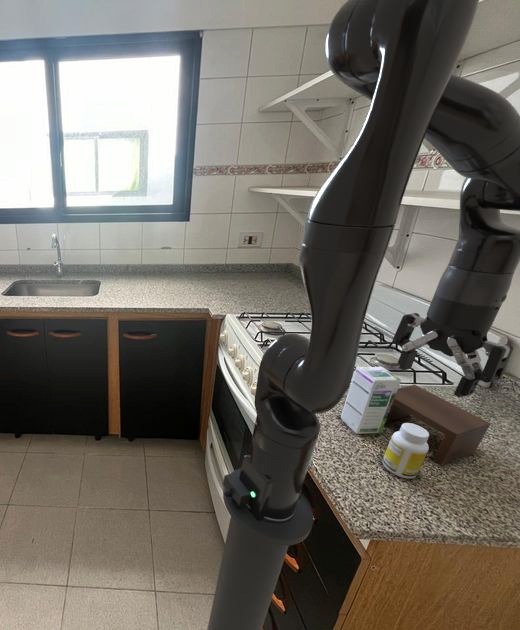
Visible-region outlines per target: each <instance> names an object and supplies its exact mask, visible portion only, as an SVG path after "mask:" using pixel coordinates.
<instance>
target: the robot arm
mask: <svg viewBox="0 0 520 630" xmlns="http://www.w3.org/2000/svg"><path fill="white" fill-rule="evenodd" d="M479 3H480V0H346V1H345V2H344V3H343V4H342V5H341V7H340V8H339V9H338V11H337V12H336V13H335V15H334V16H333V18H332V20H331V22H330V25H329V27H328V31H327V34H326V39H325V57H326V58H325V59H326V62H327V65H328V68H329V70H330V71H331V73H332V74H333V76H334V77H335V78H336V79H338V80H339V81H340V82H341V83H343V85H345V86H347V87H348V88H350V89H352V90H353V91H354V92H356V93H359V94H360V95H361V96H364V97H365V98H366V99H368V100H370V101H371V102H370V106H369V109H368V110H367V115H366V117H365V119H364V121H363V125H362V127H361V129H360V131H359V133H358V135H357V136H356V138H355V140H354V141H353V143H352V145H351V146H350V147H349V149H348V150H347V151H346V153H345V154H344V156H343V157H342V158H341V160H340V161H339V162H338V164H336V166H335V167H334V168H333V170H332V171H331V173H330V174H329V175H328V177H327V178H326V179H325V180H324V182H323V183H322V185H321V186H320V188H319V189H318V190H317V192H316V194H315V195H314V197H313V198H312V200H311V203H310V205H309V208H308V211H307V215H306V220H305V223H304V228H303V231H302V237H301V241H300V246H299V255H298V258H299V269H300V274H301V278H302V282H303V286H304V290H305V293H306V297H307V301H308V306H309V310H310V318H311V321H310V322H311V326H310V327H311V328H310V336H309V338H308V337H306V336H304V335H302V334H299V333H285V334H282V335H279V336H278V337H276V338H275V339H274V340H272V342H270V344H269V345H268V346H267V347H266V349H265V351H264V352H263V355H262V357H261V360H260V362H259V368H258V373H257V379H256V387H255V394H254V408H255V412H256V418H255V421H254V422H255V423H254V427H253V431H252V434H251V435H252V436H251V440H250V445H249V449H248V454H247V455H244V456H243V457H242V462H241V466H240V468H241V471H240V476H238V474H237V473H236V472H235V473H232V472H231V473H228V474H225V475H224V476H223V482H222V485H223V488H224V487H225V488H226V489H227V490H226V491H225V493H224V494H225V496H226V497H233V499H234V500H235V501H236V503H237V504H238V505H239V506H241V505H244V504H245V506H246V507H247V508H248V509H249V511H250V512H251V513H252V515H253V516H254V517H255V518H256V520H257V521H261V520H265V521H268V522H272V523H284V522H287V521H289V520H291V519H292V518H293V516H294V514H295V511H296V505H297V502H298V499H299V500H301V494H300V492H302V489H303V486H304V483H305V479H306V476H307V473H308V470H309V466H310V463H311V460H312V458H313V454H314V451H315V447H316V445H317V441H318V439H319V435H320V433H321V423H320V419H319V418H318V416H317V415H320V414H325V413H328V412H329V411H332V410H333V409H334V408H335V407H337V406H338V405H339V403H340V402H341V401H342V400H343V399H344V397H345V395H346V394H347V393H348V391H349V389H350V386H351V382H352V379H353V376H354V373H355V369H356V363H357V358H358V353H359V349H360V343H361V338H362V332H363V327H364V323H365V318H366V315H367V312H368V308H369V305H370V301H371V298H372V294H373V292H374V287H375V286H376V285H375V284H376V281H377V279H378V275H379V272H380V270H381V267H382V264H383V262H384V259H385V257H386V254H387V252H388V248H389V245H390V242H391V240H392V236H393V233H394V230H395V227H396V224H397V220H398V217H399V213H400V209H401V205H402V203H403V199H404V196H405V193H406V190H407V187H408V184H409V181H410V178H411V176H412V172H413V170H414V167H415V165H416V162H417V159H418V156H419V153H420V151H421V147H422V145H423V142H424V140H425V141H427V142H428V144H430V145H431V146H432V147H433V149H435V151H436V152H437V153H438V154H439V155H440V156H441V157H442V158H443V159H444V160H445V161H446V163H447V164H448V165H449V166H450V167H451V168H452V169H453V170H454V172H456V173H457V174H458V175H460V176H462V177H464V180H463V182H462V185H461V188H460V192H459V193H460V194H459V218H458V219H459V220H458V237H457V241H456V243H455V246H454V249H453V251H452V254H451V257H450V258H449V262H448V264H447V265H446V268H445V269H444V271H443V273H442V274H441V276H440V279H439V281H438V283H437V286H436V288H435V291H434V294H433V297H432V298H431V301H430V304H429V307H428V309H427V311H426V316H425V318H423V317H421V315H420V314H419V313H418V312H413V313H407V314H404V315H403V316H402V317H401V319H400V322H399V324H398V327H397V329H396V331H395V333H394V335H393V338H392V343H394V344H396V345H398V346H399V347H401V353H400V356H399V358H398V361H397V365H398V366H399V367H398V368H399V369H400V370H402V371H408V370H411V368H412V367H413V364H414V362H415V359H416V357H417V355H418V351H417V350H418V349H420V348H423V347H425V346H428V348H429V349H431V350H433V351H437V352H440V353H442V354H444V355H446V356H448V357H450V358H451V357H454V359H455V362H456V364H457V365H458V366H460V368H461V370H462V373H463V376H461V378H460V380H459V382H458V384H457V386H456V388H455V391H454V393H453V396H455V397H457V398H463V397H468V396H471V395H472V394H474V393H475V391H476V389H477V387H478V384H479V382H481V381H482V382H483V383H492V382H494V381H499V380H501V379H502V377H503V374H504V373H505V371H506V367H507V365H508V363H509V361H510V358H511V356H512V353H513V351H514V347H513V346H512V345H511V344H509V343H505V344H500V343H497V342H493V341H489V340H488V333H489V331H490V330H491V328H492V326H493V324H494V322H495V319H496V318H497V315H498V313H499V311H500V309H501V307H502V305H503V303H504V302H505V301H506V299H507V296H508V292H509V291H510V288H511V285H512V282H513V278H514V274H515V272H516V270H517V268H518V266H519V264H520V229H519V228H516V227H513V226H511V225H508V224H506V223H505V222H503V220H502V216H501V210H502V211H512V212H520V114H519V112H518V110H517V109H516V107H514V105H512V103H511V102H510V101H509V100H508V99H507V98H506V97H504V96H503V95H502V94H500V93H499V92H497V91H495V90H493V89H491V88H489V87H486V86H485V85H482V84H480V83H478V82H476V81H472V80H470V79H467V78H464V77H463V76H460V75H457V74H455V73H453V72H454V70H455V68H456V65H457V63H458V60H459V59H460V56H461V54H462V51H463V49H464V46H465V44H466V41H467V39H468V37H469V35H470V32H471V30H472V27H473V24H474V21H475V17H476V14H477V10H478V7H479ZM417 327H419V328H420V331H421V332H422V335H420V336H418V337H416V338H415V339H412V340H411V337H412V335H413V333H414V331H415V329H416V328H417ZM482 348H483V349H484V350H485V356H487V360H486V362H485V364H484V367H483V366H482V363H481V362H482V359H481V356H480V354H479V351H478V350H480V349H482Z"/></svg>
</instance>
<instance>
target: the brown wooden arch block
mask: <svg viewBox="0 0 520 630" xmlns="http://www.w3.org/2000/svg"><path fill="white" fill-rule="evenodd" d="M409 416H412V417H414V418H415V419H417V420H419V421H420V422H422V423H424V424H426V425H427V426H429V427H431V428H432V429H434V430H436V431H438V432H439V433H441V434H443V435H444V436H443V439H442V441H441V442H440V445H439V446H438V449H437V450H436V452H435V454H434V456H433V458H432V460H433V461H434V462H436V463H437V464H439V465H440V466H442V465H445V464H449V463H450V462H453V461H456V460H459V459H462V458H465V457H468V456H470V455H474V454H475V453H476V451H477V449H478V447H479V445H480V444H481V442H482V440H483V438H484V436H485V435H486V433H487V431H488V429H489V427H490V426H491V425H492V424H491V422H489V421H487V420H485V419H483V418H481V417H479V416H477V415H476V414H473V413H471V412H470V411H467V410H465V409H464V408H462V407H460V406H457V405H455V404H453V403H451V402H450V401H447V400H446V399H444V398H442V397H440V396H438V395H436V394H434V393H432V392H430V391H428V390H426V389H424V388H422V387H420V386H418V385H416V384H412V385H408V386H403V387H400V388H399V387H398V390H397V393H396V395H395V398H394V401H393V403H392V406H391V409H390V411H389V414H388V416H387V419H386V422H385V423H388V422H391V421H395V420H398V419H402V418H406V417H409Z"/></svg>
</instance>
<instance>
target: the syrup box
mask: <svg viewBox="0 0 520 630" xmlns="http://www.w3.org/2000/svg"><path fill="white" fill-rule="evenodd" d="M401 382H402V380H401V379H400V378H399V377H398V376H397V375H396V374H395V373H393V372H391V371H390V370H388V369H386V368H384V367H383V366H381V365H380V366H363V367H362V366H357V367H356V366H355V369H354V373H353V377H352V380H351V383H350V386H349V388H348V391H347V396H346V399H345V402H344V406H343V408H342V412H341V415H340V419H341V420H342V421H343V422H344V423H345V424H346V425H347V426H348V428H350V429H351V430H352V431H353V433H355V434H356V435H360V434H362V435H363V434H382V433H383V429H384V427H385V425H386V423H387V422H386V419H387V416H388V414H389V411H390V409H391V406H392V403H393V401H394V398H395V395H396V393H397V390H398V389H399V387H400V385H401Z"/></svg>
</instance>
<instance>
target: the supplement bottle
mask: <svg viewBox="0 0 520 630" xmlns="http://www.w3.org/2000/svg"><path fill="white" fill-rule="evenodd" d="M429 438H430V433H429V431H428V430H427V429H425V428H424V427H422V426H421V425H418V424H415V423H412V422H411V423H410V422H404V423H402V424H401V426H400V428H399V430H398V431H395V432H394V433H393V434H392V436H391V438H390V439H389V442H388V445H387V448H386V449H385V452H384V455H383V457H382V465H383V466H384V468H385V469H386V470H387V471H389V472H390V473H391V474H393V475H395V476H397V477H400V478H404V479H414V478H416V477H417V475H418V474H419V471H420V469H421V467H422V465H423V463H424V460H425V458H426V456H427V455H428V452H429V444H428V443H427V442H428V441H429Z"/></svg>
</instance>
